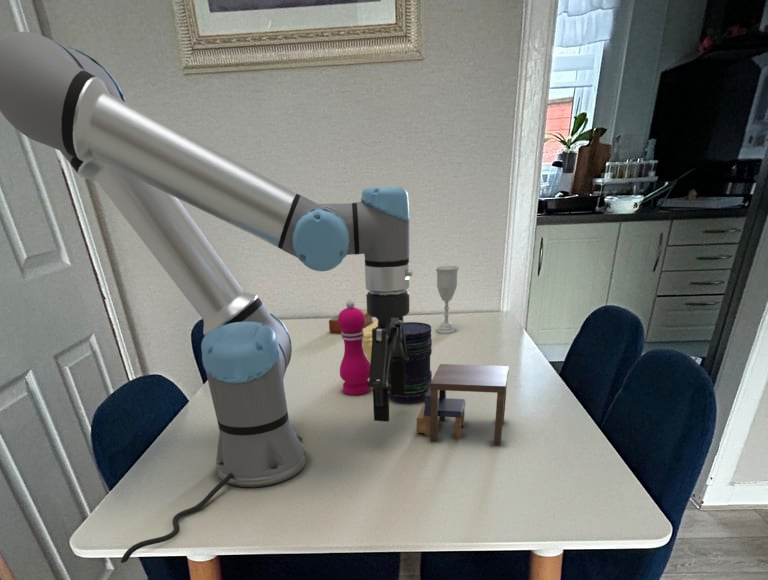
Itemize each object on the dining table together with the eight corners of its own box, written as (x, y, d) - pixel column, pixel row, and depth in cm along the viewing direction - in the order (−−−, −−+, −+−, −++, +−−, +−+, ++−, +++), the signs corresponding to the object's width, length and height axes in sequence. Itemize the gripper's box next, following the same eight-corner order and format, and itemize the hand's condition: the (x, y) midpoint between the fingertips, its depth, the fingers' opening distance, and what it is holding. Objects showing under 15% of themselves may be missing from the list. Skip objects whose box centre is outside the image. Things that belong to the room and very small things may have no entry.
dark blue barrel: (435, 389, 123) (436, 322, 115) (427, 405, 116) (426, 334, 107) (394, 387, 126) (391, 321, 118) (382, 402, 118) (379, 333, 110)
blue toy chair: (416, 434, 103) (416, 395, 99) (422, 421, 108) (422, 383, 104) (460, 437, 101) (461, 397, 97) (464, 424, 107) (466, 385, 102)
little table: (500, 445, 98) (505, 386, 92) (430, 441, 101) (430, 383, 95) (504, 421, 107) (508, 366, 101) (439, 418, 110) (439, 363, 103)
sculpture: (359, 369, 138) (356, 326, 132) (371, 355, 148) (369, 314, 142) (402, 370, 136) (401, 327, 130) (412, 356, 145) (411, 315, 140)
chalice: (431, 329, 168) (431, 267, 159) (451, 326, 170) (452, 264, 160) (440, 335, 162) (441, 270, 153) (461, 332, 164) (463, 268, 154)
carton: (373, 322, 180) (372, 308, 177) (353, 334, 167) (352, 320, 165) (350, 320, 182) (349, 307, 180) (329, 333, 170) (327, 319, 168)
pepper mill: (368, 396, 122) (362, 303, 111) (337, 395, 123) (328, 304, 112) (375, 385, 128) (370, 296, 117) (345, 384, 129) (338, 296, 118)
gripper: (391, 307, 82) (394, 434, 94) (422, 278, 102) (421, 386, 114) (345, 306, 84) (353, 431, 95) (384, 277, 104) (387, 384, 116)
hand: (390, 407), depth 105 cm, fingers open, 13 cm apart
